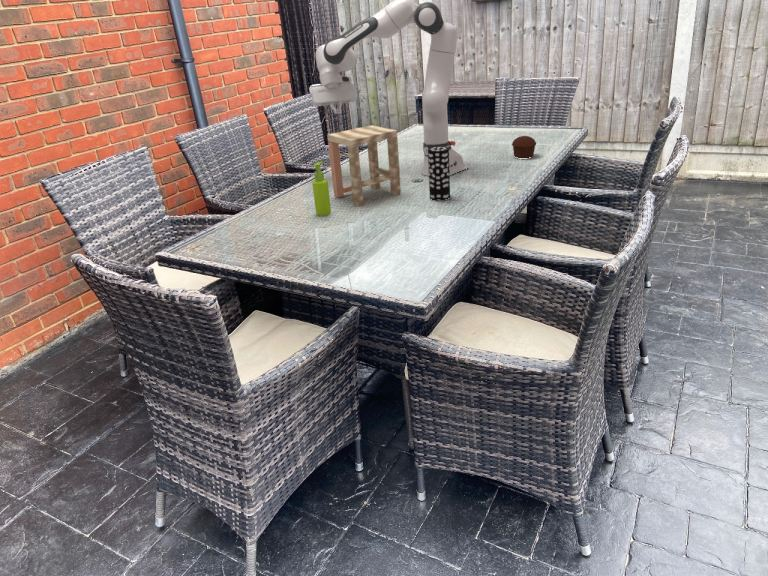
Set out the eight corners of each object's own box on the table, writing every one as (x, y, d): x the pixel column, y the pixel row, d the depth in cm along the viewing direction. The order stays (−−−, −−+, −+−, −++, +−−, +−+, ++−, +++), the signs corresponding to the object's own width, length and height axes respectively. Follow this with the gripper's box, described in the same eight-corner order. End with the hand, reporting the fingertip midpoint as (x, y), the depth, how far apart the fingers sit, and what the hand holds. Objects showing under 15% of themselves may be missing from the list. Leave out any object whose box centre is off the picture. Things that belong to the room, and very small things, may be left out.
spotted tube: (449, 201, 234) (447, 151, 225) (428, 201, 236) (426, 151, 227) (451, 194, 241) (450, 146, 232) (431, 194, 243) (429, 146, 234)
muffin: (532, 153, 291) (533, 133, 287) (538, 159, 281) (539, 138, 277) (508, 155, 291) (509, 135, 287) (513, 161, 281) (514, 140, 277)
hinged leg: (358, 189, 256) (353, 136, 246) (362, 190, 253) (357, 137, 243) (334, 196, 249) (328, 142, 239) (338, 197, 247) (332, 143, 237)
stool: (376, 185, 260) (371, 125, 249) (400, 193, 247) (396, 130, 235) (334, 197, 250) (327, 134, 238) (357, 206, 236) (351, 140, 224)
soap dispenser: (334, 210, 234) (328, 160, 225) (327, 216, 228) (321, 165, 219) (321, 209, 236) (315, 160, 227) (313, 215, 230) (307, 165, 221)
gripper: (309, 82, 252) (316, 113, 251) (354, 77, 258) (361, 107, 257) (307, 88, 258) (314, 118, 257) (351, 83, 264) (358, 113, 263)
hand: (338, 113), depth 257 cm, fingers closed
